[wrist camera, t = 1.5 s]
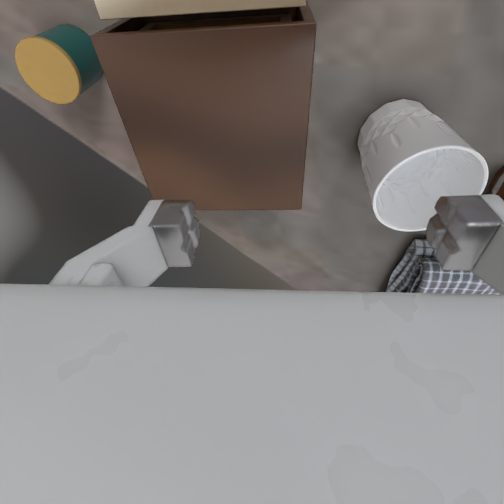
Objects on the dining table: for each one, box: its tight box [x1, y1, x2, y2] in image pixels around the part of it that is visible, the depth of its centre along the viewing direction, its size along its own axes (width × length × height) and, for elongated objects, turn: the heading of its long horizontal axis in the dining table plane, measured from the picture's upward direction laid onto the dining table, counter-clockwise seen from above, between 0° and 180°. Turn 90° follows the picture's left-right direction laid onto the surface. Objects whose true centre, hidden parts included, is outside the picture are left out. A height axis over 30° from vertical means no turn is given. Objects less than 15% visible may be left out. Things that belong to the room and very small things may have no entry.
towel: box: [386, 239, 501, 295], centre depth 42 cm, size 15×18×8 cm
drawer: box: [94, 0, 306, 31], centre depth 21 cm, size 17×12×7 cm
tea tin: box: [15, 25, 103, 104], centre depth 24 cm, size 4×4×5 cm
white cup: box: [357, 99, 489, 232], centre depth 26 cm, size 8×8×10 cm
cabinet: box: [91, 0, 316, 210], centre depth 25 cm, size 13×13×8 cm
